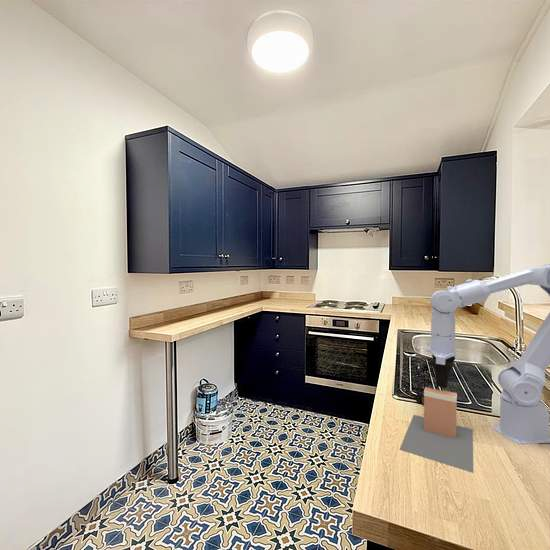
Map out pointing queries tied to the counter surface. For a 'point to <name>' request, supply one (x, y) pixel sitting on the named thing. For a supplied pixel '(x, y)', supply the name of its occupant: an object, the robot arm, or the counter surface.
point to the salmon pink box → (440, 412)
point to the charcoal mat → (440, 445)
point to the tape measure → (420, 398)
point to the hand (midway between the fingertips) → (442, 384)
